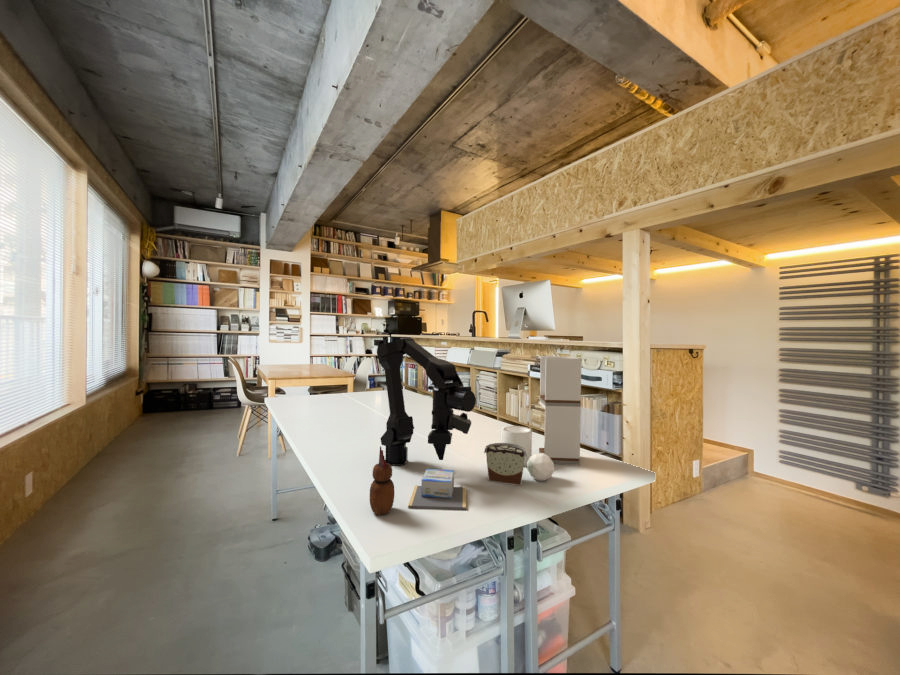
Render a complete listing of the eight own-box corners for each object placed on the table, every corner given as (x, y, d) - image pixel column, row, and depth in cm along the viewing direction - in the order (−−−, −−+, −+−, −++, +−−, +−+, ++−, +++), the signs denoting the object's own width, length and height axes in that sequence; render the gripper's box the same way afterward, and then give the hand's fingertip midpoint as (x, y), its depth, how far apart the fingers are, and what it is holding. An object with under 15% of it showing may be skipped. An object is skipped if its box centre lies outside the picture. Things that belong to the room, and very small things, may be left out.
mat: (408, 508, 91) (408, 505, 91) (414, 487, 103) (414, 485, 103) (465, 509, 90) (465, 507, 90) (465, 489, 102) (465, 487, 102)
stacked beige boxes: (571, 454, 134) (572, 356, 134) (579, 464, 124) (581, 358, 123) (539, 453, 135) (540, 356, 135) (544, 463, 124) (546, 358, 124)
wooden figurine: (371, 505, 92) (372, 444, 92) (395, 504, 93) (395, 444, 93) (367, 518, 86) (368, 453, 86) (393, 517, 86) (393, 452, 86)
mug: (493, 453, 134) (493, 424, 134) (520, 452, 136) (520, 423, 136) (507, 467, 121) (507, 434, 120) (536, 465, 123) (537, 432, 123)
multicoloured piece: (529, 478, 111) (529, 445, 111) (526, 486, 105) (527, 451, 105) (488, 473, 115) (488, 440, 115) (483, 480, 109) (484, 446, 109)
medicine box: (454, 469, 104) (452, 481, 95) (454, 485, 104) (451, 499, 95) (426, 468, 104) (421, 480, 96) (425, 484, 104) (421, 497, 96)
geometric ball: (546, 488, 111) (564, 468, 110) (532, 485, 106) (550, 464, 104) (531, 468, 117) (547, 449, 115) (517, 464, 112) (533, 445, 110)
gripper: (470, 414, 99) (468, 472, 100) (470, 401, 118) (469, 450, 118) (428, 412, 100) (426, 471, 100) (434, 400, 119) (433, 449, 119)
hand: (441, 459), depth 109 cm, fingers closed
